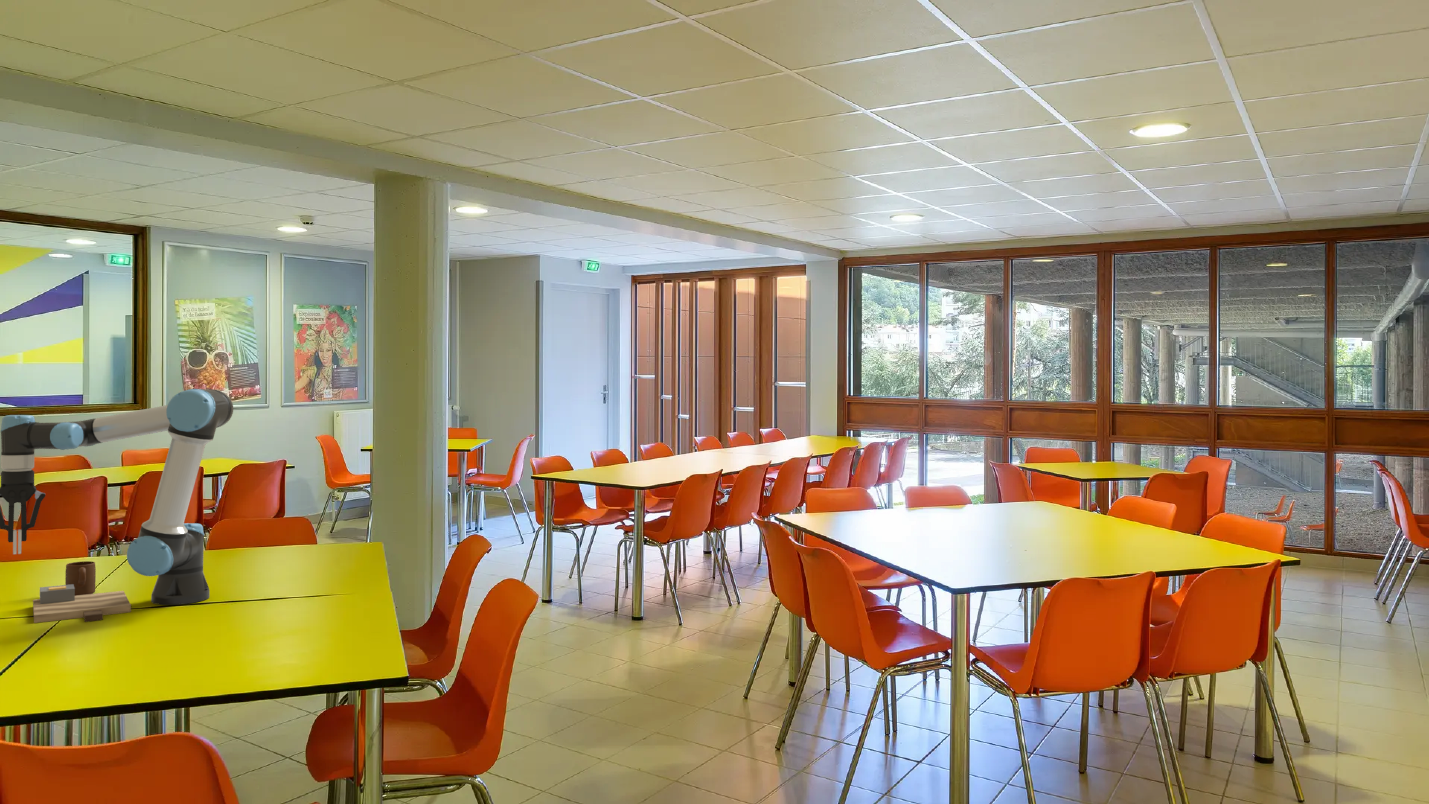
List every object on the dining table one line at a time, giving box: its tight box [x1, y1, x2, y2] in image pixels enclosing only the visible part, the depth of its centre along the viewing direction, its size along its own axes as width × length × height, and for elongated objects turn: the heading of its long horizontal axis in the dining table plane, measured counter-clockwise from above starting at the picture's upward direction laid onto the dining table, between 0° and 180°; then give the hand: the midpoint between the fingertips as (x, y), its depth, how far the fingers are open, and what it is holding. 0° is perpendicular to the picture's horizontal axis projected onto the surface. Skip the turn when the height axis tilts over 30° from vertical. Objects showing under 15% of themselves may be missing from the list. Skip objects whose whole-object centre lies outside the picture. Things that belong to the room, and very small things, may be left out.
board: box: [32, 590, 132, 624], centre depth 260 cm, size 28×22×2 cm
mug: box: [64, 560, 97, 596], centre depth 280 cm, size 12×8×9 cm, turn 38°
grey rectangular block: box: [39, 584, 75, 604], centre depth 265 cm, size 7×8×4 cm
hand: (17, 553), depth 259 cm, fingers closed
